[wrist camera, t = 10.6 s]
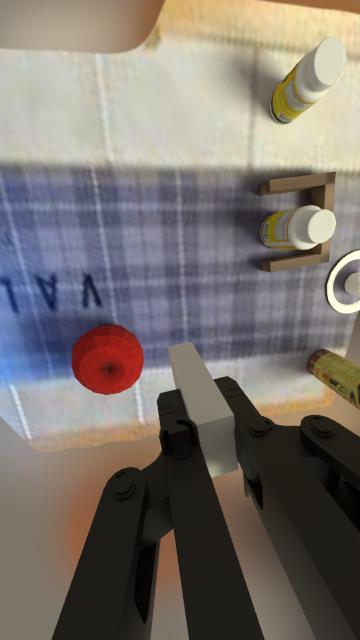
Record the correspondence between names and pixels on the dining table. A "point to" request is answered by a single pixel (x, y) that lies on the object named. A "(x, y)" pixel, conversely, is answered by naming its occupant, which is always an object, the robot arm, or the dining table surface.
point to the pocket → (320, 197)
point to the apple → (107, 359)
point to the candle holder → (353, 285)
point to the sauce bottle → (337, 375)
